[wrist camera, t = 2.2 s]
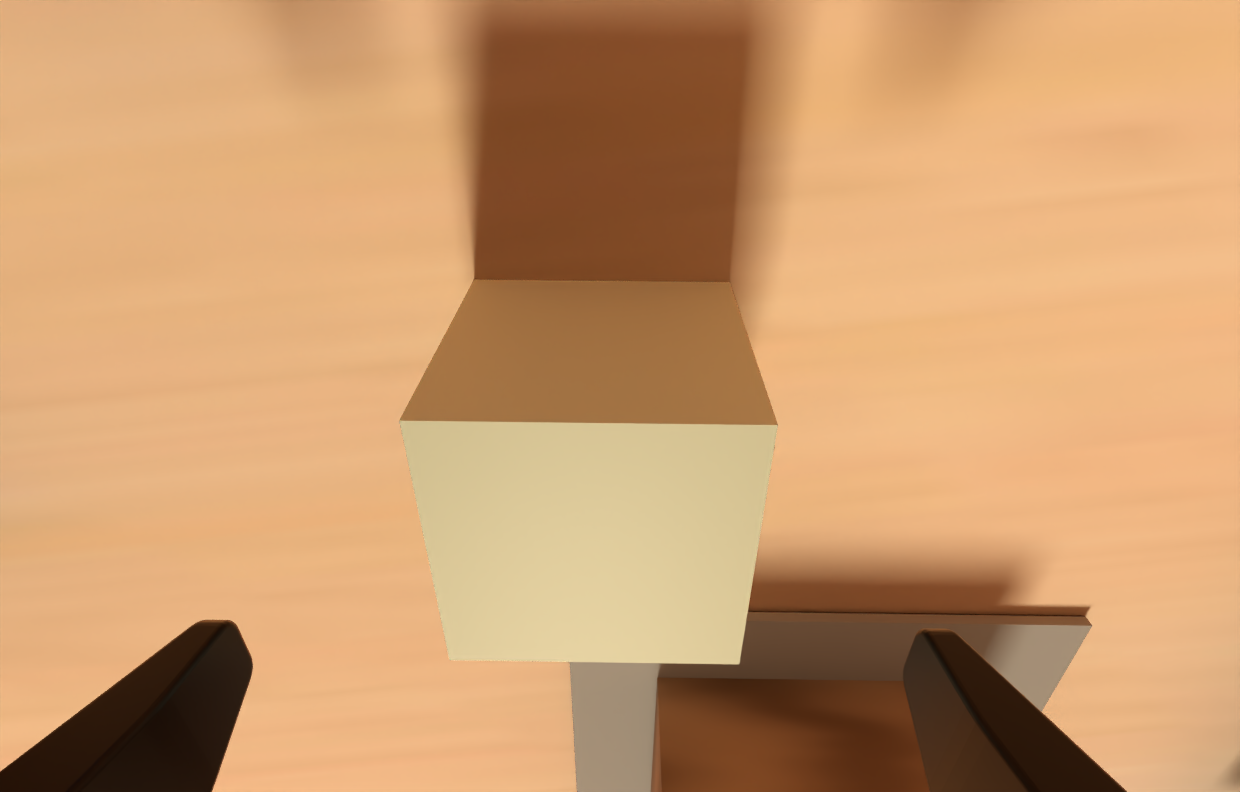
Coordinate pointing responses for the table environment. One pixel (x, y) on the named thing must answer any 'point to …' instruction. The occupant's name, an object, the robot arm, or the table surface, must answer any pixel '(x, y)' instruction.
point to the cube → (592, 472)
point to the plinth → (784, 736)
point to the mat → (800, 673)
